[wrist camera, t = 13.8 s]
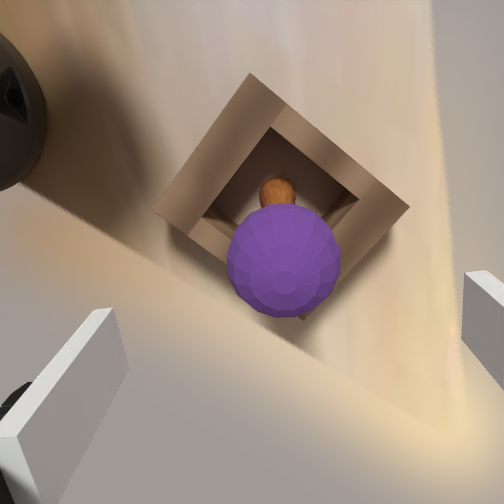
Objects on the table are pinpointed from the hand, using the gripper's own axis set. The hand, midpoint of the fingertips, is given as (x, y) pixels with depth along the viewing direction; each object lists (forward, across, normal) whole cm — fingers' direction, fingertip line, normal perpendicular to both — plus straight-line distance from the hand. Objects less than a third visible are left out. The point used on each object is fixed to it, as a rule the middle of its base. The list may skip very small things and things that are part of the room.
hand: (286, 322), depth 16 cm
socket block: (+24, 0, 0) cm, 24 cm away
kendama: (+24, 0, 0) cm, 24 cm away
